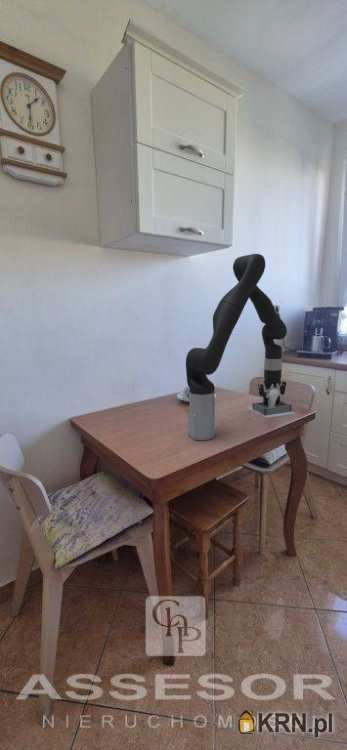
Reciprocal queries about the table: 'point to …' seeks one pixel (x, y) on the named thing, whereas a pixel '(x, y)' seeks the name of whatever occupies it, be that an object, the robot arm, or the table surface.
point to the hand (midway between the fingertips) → (271, 404)
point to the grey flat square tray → (272, 409)
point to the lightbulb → (272, 396)
